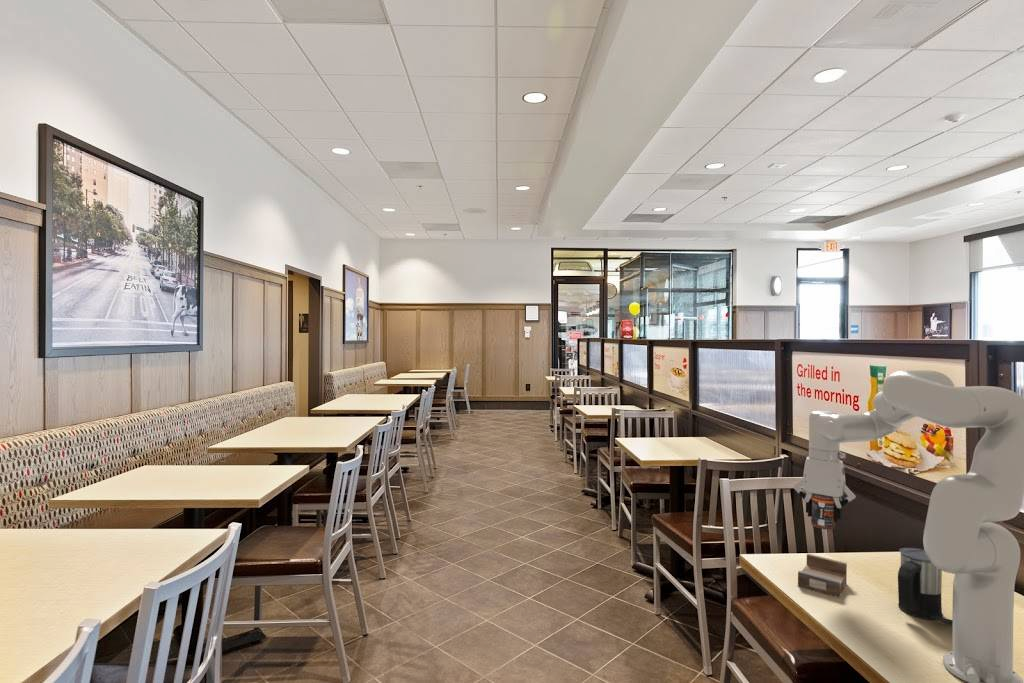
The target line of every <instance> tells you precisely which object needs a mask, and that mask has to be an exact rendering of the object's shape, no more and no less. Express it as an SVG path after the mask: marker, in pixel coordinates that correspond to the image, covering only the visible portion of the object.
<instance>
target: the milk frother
mask: <svg viewBox="0 0 1024 683" xmlns="http://www.w3.org/2000/svg"><path fill="white" fill-rule="evenodd" d="M898 551H899V553H900V567H899V569H898V573H897V589H898V590H897V593H898V594H897V595H898V596H897V597H898V604H897V606H898V608H899V609H900V610H902V611H903V612H905V613H906V614H908V615H910V616H914V617H917V618H920V619H924V620H935V621H936V620H937V621H939V622H942V623H945V624H947V625H948V624H949V625H952V619H949V618H945V617H944V614H943V611H942V610H943V608H942V604H943V603H942V579H943V573H942V572H943V571H942V570H940V569H938V568H937V567H936V566H934V565H933V564H932V563H931V561H930V560H929V559H928V557H927V555H926V553H925V550H924V549H920V548H916V547H903V548H899V550H898Z"/></svg>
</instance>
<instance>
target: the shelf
mask: <svg viewBox="0 0 1024 683" xmlns="http://www.w3.org/2000/svg"><path fill="white" fill-rule="evenodd" d="M847 567H848V566H847V562H844V561H840V560H835V559H831V558H828V557H824V556H823V557H822V556H818V555H814V554H810V553H807V554H806V565H804V567H803V569H802V570H798V572H797V587H800V588H803V589H806V590H810V591H813V590H814V591H813V592H817V591H818V593H820V592H821V594H824V595H827V594H828V596H831V595H832V596H831V597H835V596H836V597H835V598H838V597H839V598H840V596H841V595H840V594H842V593H843V591H844V589H845V588H844V587H846V585H847V578H848V577H847V575H848V574H847Z"/></svg>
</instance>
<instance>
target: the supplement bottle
mask: <svg viewBox="0 0 1024 683" xmlns="http://www.w3.org/2000/svg"><path fill="white" fill-rule="evenodd" d="M811 499H812V510H811V518H810V519H811V521H810V524H811V525H812V526H813V527H815V528H818V529H821V530H828V531H829V530H834V529H835V528H836V522H835V521H834V508H835V507H836V504H835V502H834V499H833V497H828V496H826V495H820V494H812V498H811Z"/></svg>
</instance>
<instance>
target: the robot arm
mask: <svg viewBox="0 0 1024 683" xmlns="http://www.w3.org/2000/svg"><path fill="white" fill-rule="evenodd" d="M872 406H873V409H872V410H870V411H867V412H864V413H845V414H843V413H842V414H840V413H839V414H838V413H837V412H834V411H829V410H814V411H811V412H810V413H809V415H808V416H809V417H808V456H807V457H806V459H805V462H804V467H803V474H802V475H803V476H802V479H801V480H800V481H798V482H797V483H796V484H795V485H793V486H792V487H793V489H794V490H795V491H796V492H797V493H798V495H799V496H800V497H801V498H802V499H803V500H804V501H803V502H805V513H807V517H808V518H810V517H811V510H812V494H820V495H826V496H828V497H833V499H834V502H835V504H836V507H835V508H834V521H835V523H838V522H839V521H840V520H841V519H842V518H843V517H842V516H843V514H842V513H843V511H842V507H844V506H845V505H847V504H848V503H850V502H853V500H855V499H856V495H855V494H854V492H853V491H851V489H850V488H849V487H848V486H847V485H846V474H845V465H844V462H843V461H842V460H840V459H846V453H844V452H841V450H840V443H841V444H842V443H845V444H846V443H858V442H859V443H861V442H871V441H872V442H873V441H876V440H879V439H881V438H883V437H885V436H889V435H891V434H893V433H894V432H897V430H898V429H900V428H901V426H902V425H903V423H906V422H907V421H910V420H912V419H914V418H917V417H918V418H921V419H923V420H925V421H928V422H931V423H934V424H937V425H940V426H942V427H946V428H954V429H966V428H985V432H984V434H983V435H982V437H981V438H980V439H979V441H978V442H977V444H976V445H975V448H974V451H973V456H972V462H971V465H970V469H969V471H968V472H967V473H966V474H965V473H964V474H954V475H950V476H946V477H944V478H942V479H941V480H939V481H938V482H937V484H935V485H934V487H933V488H932V492H931V494H930V500H929V504H928V508H927V514H926V518H925V525H924V528H923V529H924V530H923V539H922V543H923V550H925V553H926V555H927V557H928V559H929V560H930V561H931V563H932V564H933V565H934V566H936V567H937V568H938V569H940V570H942V572H945V573H947V574H954V577H953V582H952V619H951V620H952V624H951V626H952V629H951V630H952V632H951V633H952V637H951V639H952V641H951V643H952V645H951V651H949V652H946V653H944V654H943V655H942V663H943V666H944V667H945V669H946V670H947V671H949V672H950V673H951V674H952V675H954V676H955V677H957V679H961V680H962V681H964V682H966V683H1024V681H1023V678H1022V677H1021V676H1020V675H1019V674H1018V673H1017V672H1016V671H1015V670H1014V606H1015V605H1014V603H1015V584H1016V578H1017V574H1018V571H1019V567H1020V563H1021V548H1020V544H1019V542H1018V540H1017V538H1016V537H1015V536H1014V534H1013V533H1012V532H1011V531H1009V530H1008V528H1006V527H1004V526H1002V525H1000V524H997V522H1004V521H1008V520H1012V519H1014V518H1015V517H1017V516H1018V514H1019V513H1020V511H1021V508H1022V506H1023V502H1024V501H1023V500H1024V397H1023V396H1021V395H1020V394H1018V393H1017V392H1015V391H1014V390H1010V389H1007V388H1003V387H1001V386H1000V387H999V386H992V385H991V386H990V385H988V386H987V385H973V386H972V385H971V386H955V383H954V382H953V380H952V379H951V377H949V376H948V375H946V374H944V373H942V372H939V371H936V370H930V369H929V370H928V369H927V370H926V369H925V370H913V369H912V370H911V369H910V370H908V369H907V370H898V371H896V372H893V373H891V374H890V375H888V376H887V377H886V379H885V380H884V382H883V383H882V390H881V391H879V392H878V393H876V394H875V396H874V397H873V399H872ZM843 495H847V497H845V498H843V499H842V497H843ZM995 522H996V523H995Z"/></svg>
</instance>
